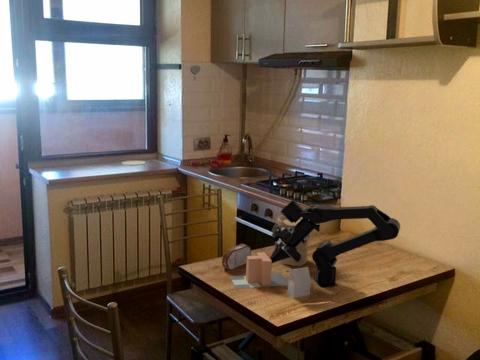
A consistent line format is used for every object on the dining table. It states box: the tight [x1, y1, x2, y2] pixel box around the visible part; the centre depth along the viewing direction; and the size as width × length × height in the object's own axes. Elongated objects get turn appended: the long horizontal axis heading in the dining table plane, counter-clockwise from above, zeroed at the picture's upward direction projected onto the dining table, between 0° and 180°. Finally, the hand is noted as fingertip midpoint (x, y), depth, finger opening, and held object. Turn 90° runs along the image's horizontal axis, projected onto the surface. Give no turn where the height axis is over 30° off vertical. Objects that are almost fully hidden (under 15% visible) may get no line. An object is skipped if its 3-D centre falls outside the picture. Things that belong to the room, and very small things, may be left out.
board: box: [229, 272, 288, 290], centre depth 186 cm, size 20×11×1 cm, turn 104°
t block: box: [245, 251, 273, 286], centre depth 184 cm, size 8×9×9 cm
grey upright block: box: [286, 266, 312, 299], centre depth 174 cm, size 4×7×10 cm, turn 119°
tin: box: [221, 243, 252, 271], centre depth 199 cm, size 15×3×8 cm, turn 141°
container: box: [276, 214, 309, 267], centre depth 205 cm, size 13×13×18 cm
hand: (269, 262), depth 185 cm, fingers closed
